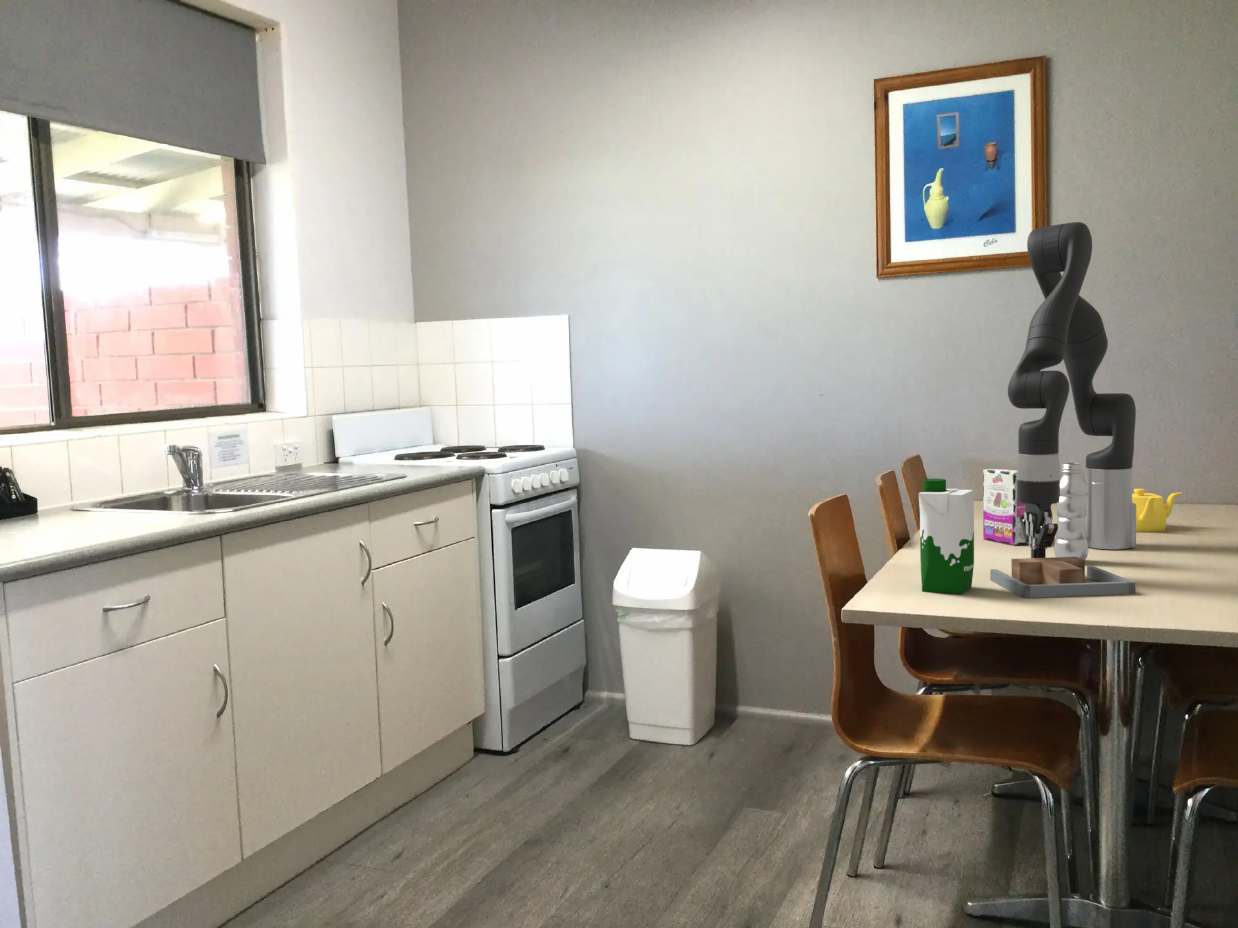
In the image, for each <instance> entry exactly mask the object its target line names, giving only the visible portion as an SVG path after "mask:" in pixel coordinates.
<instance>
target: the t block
mask: <svg viewBox="0 0 1238 928" xmlns="http://www.w3.org/2000/svg"><path fill="white" fill-rule="evenodd" d="M1085 566H1086V559H1085V560H1083V559H1080V558H1078V557H1056V556H1055V557H1054V556H1053V557H1046V558H1031V557H1030V558H1029V557H1027V558H1011V577H1013V578H1015V579H1017V580H1019V581H1021V582H1023V583H1025V584H1027V585H1037V584H1069V583H1086V567H1085Z"/></svg>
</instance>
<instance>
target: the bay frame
mask: <svg viewBox="0 0 1238 928" xmlns="http://www.w3.org/2000/svg"><path fill="white" fill-rule="evenodd" d="M989 572H990V573H989V574H990V575H989V580H990V581H991V582H994V583H995V584H997V585H999V586H1001V587H1003V589H1006V590H1008V591H1009V592H1012V593H1014V594H1016V595H1018V596H1019V597H1021V598H1022V599H1027V598H1029V599H1030V598H1031V599H1032V598H1058V597H1059V598H1061V597H1085V596H1086V597H1088V596H1090V597H1091V596H1115V595H1116V596H1120V595H1121V596H1122V595H1136V582H1135V581H1132V580H1131V579H1126V578H1125V577H1122V576H1119V575H1117V574H1115V573H1112V572H1110V571H1107V570H1105V569H1102V568H1100V567H1097V566H1095V565H1087V566H1086V577H1087V578H1089V579H1092V580H1094V581H1096V582H1082V583H1069V584H1042V583H1038V584H1025V583H1023V582H1021V581H1019V580H1017V579H1015V578H1013V577H1012V575H1009V574H1008V573H1005V572H1003V571H1001V570H999V569H996V568H993V569H991V568H990V570H989Z"/></svg>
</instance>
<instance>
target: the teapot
mask: <svg viewBox="0 0 1238 928" xmlns="http://www.w3.org/2000/svg"><path fill="white" fill-rule="evenodd" d="M1133 492H1134V493H1133ZM1133 492H1132V503H1135V504H1136V533H1165V531H1166V528H1167V518H1168V517H1169V516H1170V515H1171V513H1172V510H1173V505H1174V501H1175V500H1176V498H1177V497H1178V496H1179V495H1182V493H1183V492H1173V493H1170V495H1169V496H1168V497H1167V499H1166V503H1165V501H1164V498H1163V497H1162V496H1161V495H1158V494H1156V493H1152V492H1146V489H1144V488H1134V489H1133Z"/></svg>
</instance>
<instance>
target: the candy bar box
mask: <svg viewBox="0 0 1238 928" xmlns="http://www.w3.org/2000/svg"><path fill="white" fill-rule="evenodd" d="M982 472H983V473H982V474H983V476H982V479H983V480H982V482H983V483H982V484H983V485H982V486H983V488H982V489H983V495H982V496H983V500H982V503H983V508H982V509H983V512H982V513H983V515H982V516H983V517H982V518H983V523H982V524H983V528H982V529H983V530H982V531H983V533H982V534H983V540H987V541H991V542H996V543H1000V544H1006V545H1011V546H1022V545H1029V543H1026V541H1025V537H1024V533H1023V530H1022V526H1021V522H1020V515H1024V512H1025V506H1026V504H1024V503H1020V502H1018V500H1017V469H1016V470H1015V469H1004V468H991V469H990V468H987V469H983V470H982Z"/></svg>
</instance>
